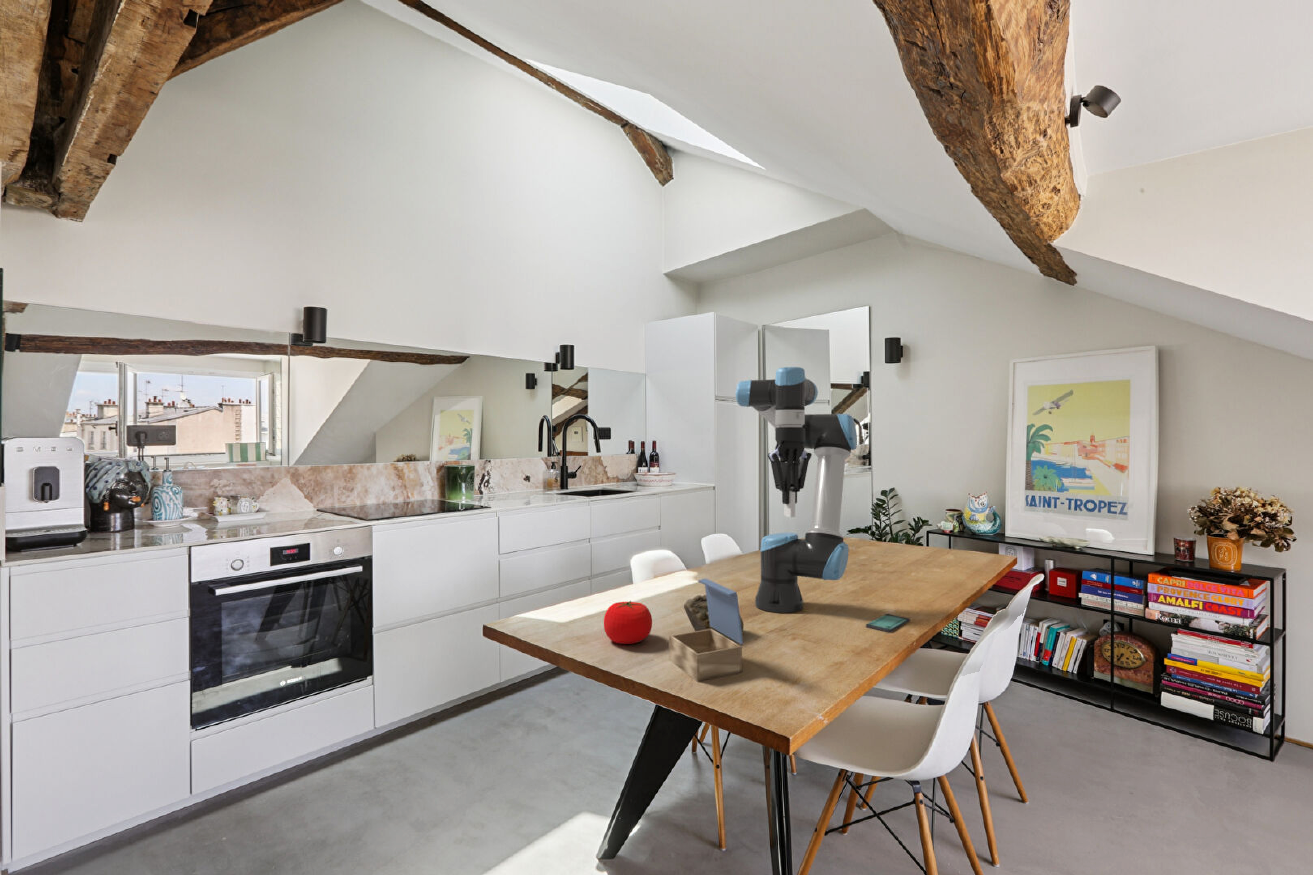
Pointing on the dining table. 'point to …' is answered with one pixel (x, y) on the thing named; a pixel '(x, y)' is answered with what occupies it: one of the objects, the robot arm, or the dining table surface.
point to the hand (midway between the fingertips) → (789, 516)
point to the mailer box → (705, 654)
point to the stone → (701, 614)
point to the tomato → (627, 622)
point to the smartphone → (888, 623)
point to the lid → (723, 610)
